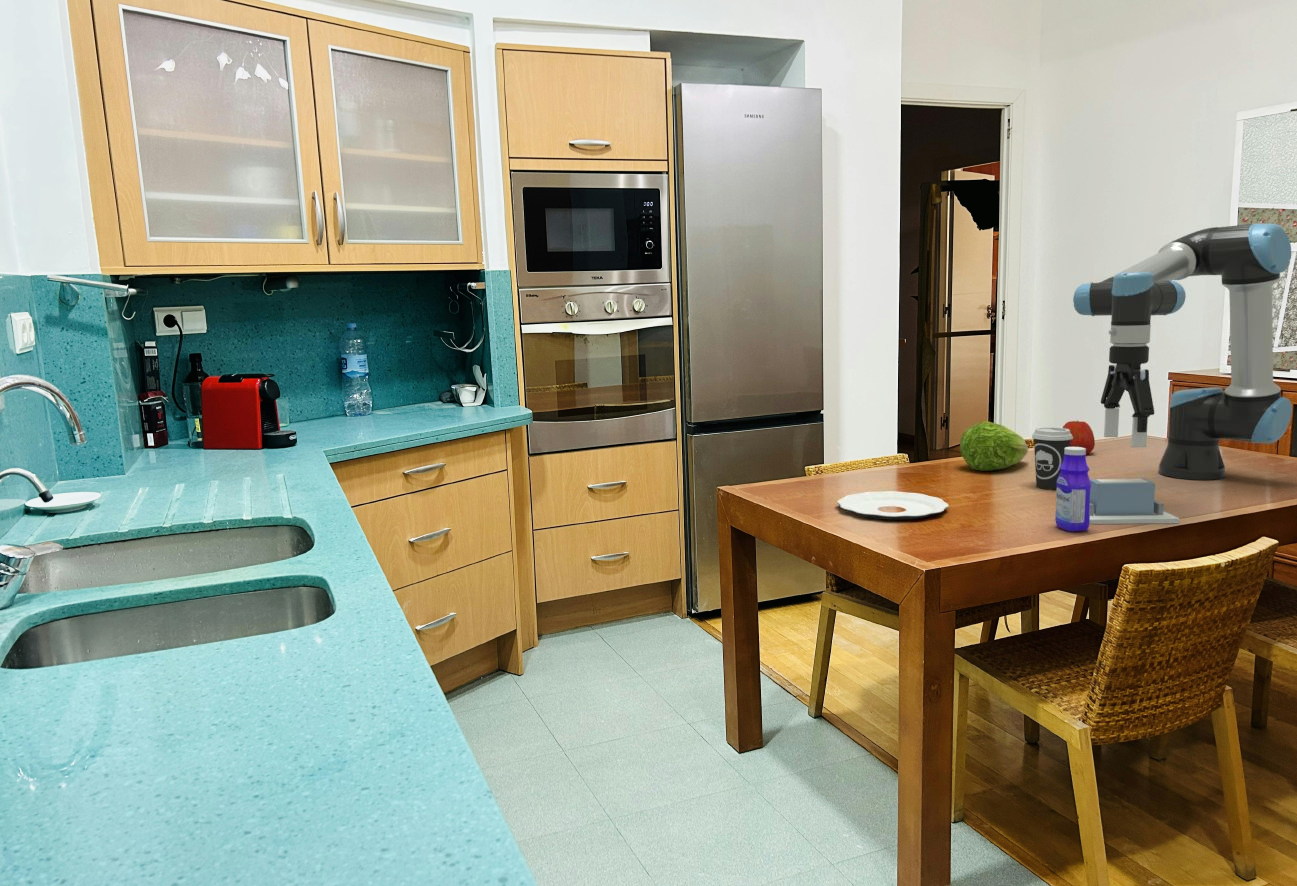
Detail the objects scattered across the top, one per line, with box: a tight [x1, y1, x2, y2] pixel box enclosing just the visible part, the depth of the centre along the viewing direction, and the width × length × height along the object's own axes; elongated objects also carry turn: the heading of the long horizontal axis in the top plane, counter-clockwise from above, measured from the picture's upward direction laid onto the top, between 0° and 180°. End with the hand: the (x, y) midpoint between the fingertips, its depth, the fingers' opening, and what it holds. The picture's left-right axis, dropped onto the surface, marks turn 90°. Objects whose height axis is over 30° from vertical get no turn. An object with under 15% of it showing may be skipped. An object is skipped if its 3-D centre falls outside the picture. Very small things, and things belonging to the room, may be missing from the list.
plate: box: [836, 490, 949, 521], centre depth 208 cm, size 25×25×2 cm
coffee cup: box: [1031, 426, 1073, 491], centre depth 225 cm, size 10×10×15 cm
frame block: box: [1089, 478, 1156, 515], centre depth 194 cm, size 12×5×7 cm, turn 85°
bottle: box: [1054, 447, 1091, 532], centre depth 185 cm, size 7×6×17 cm
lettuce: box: [959, 421, 1029, 472], centre depth 252 cm, size 14×24×15 cm
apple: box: [1062, 419, 1096, 455], centre depth 269 cm, size 10×10×10 cm
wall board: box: [1089, 499, 1180, 525], centre depth 195 cm, size 19×13×3 cm
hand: (1124, 442), depth 193 cm, fingers open, 13 cm apart
